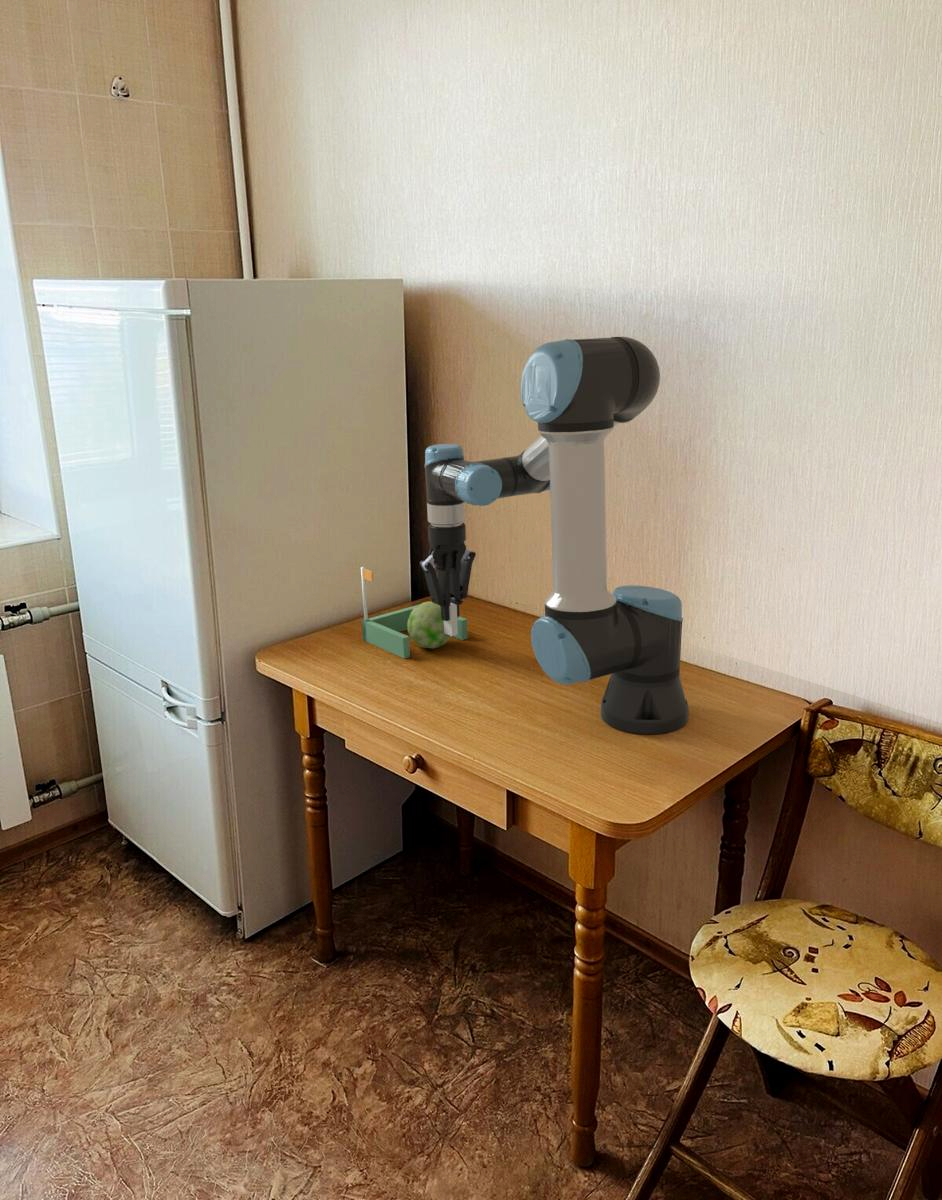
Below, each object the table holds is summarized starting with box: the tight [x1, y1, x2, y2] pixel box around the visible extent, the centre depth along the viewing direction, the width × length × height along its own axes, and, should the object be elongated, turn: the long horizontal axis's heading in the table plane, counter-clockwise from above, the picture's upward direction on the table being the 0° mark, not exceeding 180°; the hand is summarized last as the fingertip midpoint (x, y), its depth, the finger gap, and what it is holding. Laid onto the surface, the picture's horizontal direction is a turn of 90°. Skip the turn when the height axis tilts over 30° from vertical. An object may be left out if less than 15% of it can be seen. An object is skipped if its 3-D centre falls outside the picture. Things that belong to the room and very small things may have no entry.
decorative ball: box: [407, 600, 452, 649], centre depth 202 cm, size 10×10×10 cm
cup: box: [360, 566, 468, 660], centre depth 206 cm, size 16×17×16 cm
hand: (450, 633), depth 197 cm, fingers closed
